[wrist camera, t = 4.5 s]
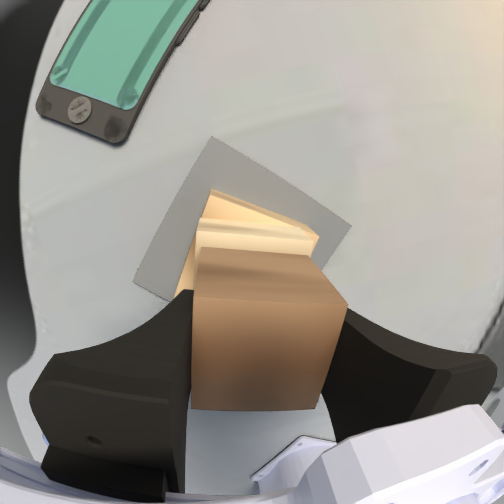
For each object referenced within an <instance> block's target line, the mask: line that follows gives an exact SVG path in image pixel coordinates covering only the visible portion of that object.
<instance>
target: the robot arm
mask: <svg viewBox="0 0 504 504" xmlns="http://www.w3.org/2000/svg"><path fill="white" fill-rule="evenodd" d="M193 297H194V290H190V289H183V290H182V291H181V292H180V293H179V294H178V295H177V296H176V297H175V298H174V299H173V300H172V301H171V302H170V303H169V304H168V305H167V306H166V307H165V308H164V309H162V310H161V311H160V312H159V313H158V314H157V315H155V316H154V317H153V318H151V319H150V320H149V321H148V322H146V323H144V324H143V325H141V326H140V327H138V328H136V329H134V330H133V331H131V332H129V333H127V334H124V335H122V336H120V337H118V338H115V339H113V340H111V341H108V342H105V343H102V344H100V345H96V346H93V347H89V348H85V349H81V350H76V351H70V352H65V353H58V354H54V355H53V357H52V358H51V359H50V361H49V362H48V363H47V365H46V366H45V368H44V370H43V371H42V373H41V375H40V376H39V378H38V380H37V381H36V383H35V385H34V386H33V388H32V390H31V392H30V396H29V403H30V406H31V409H32V412H33V414H34V416H35V418H36V420H37V422H38V424H39V426H40V428H41V430H42V432H43V434H44V436H45V437H46V439H47V441H48V443H49V446H48V449H47V451H46V454H45V456H44V459H43V462H42V463H40V462H37V461H35V460H32V459H29V458H27V457H24V456H22V455H19V454H17V453H15V452H12V451H10V450H8V449H6V448H3V447H1V446H0V504H491V503H492V502H494V501H495V500H497V499H498V498H499V497H500V496H502V495H503V494H504V423H503V425H502V427H501V428H498V427H497V426H496V424H495V423H494V422H493V421H492V420H491V418H490V417H489V416H488V415H487V414H486V412H485V411H484V410H483V409H482V408H481V405H482V404H483V402H484V401H485V399H486V398H487V396H488V394H489V393H490V391H491V389H492V387H493V385H494V383H495V380H496V377H497V366H496V364H495V363H494V362H493V361H492V360H491V359H490V358H489V357H488V356H486V355H483V354H473V353H463V352H456V351H451V350H446V349H441V348H437V347H433V346H429V345H426V344H423V343H419V342H416V341H413V340H410V339H408V338H405V337H403V336H400V335H398V334H396V333H393V332H391V331H389V330H387V329H385V328H383V327H381V326H379V325H377V324H375V323H373V322H371V321H370V320H368V319H366V318H364V317H363V316H361V315H359V314H357V313H356V312H354V311H352V310H351V309H349V308H347V311H346V315H345V318H344V322H343V325H342V329H341V332H340V335H339V339H338V342H337V345H336V348H335V352H334V355H333V358H332V361H331V364H330V367H329V370H328V373H327V376H326V379H325V382H324V385H323V388H322V391H321V394H322V396H323V398H324V401H325V403H326V406H327V409H328V411H329V415H330V418H331V422H332V426H333V430H334V434H335V438H336V442H332V441H326V440H321V439H316V438H311V437H307V436H301V437H299V438H298V439H297V440H296V441H295V442H293V443H292V444H291V445H290V446H289V447H288V448H286V449H285V450H284V451H283V452H282V453H281V454H279V455H278V456H277V457H276V458H275V459H273V460H272V461H271V462H270V463H268V464H267V465H266V466H265V467H263V468H262V469H261V470H259V471H258V472H257V473H256V474H254V475H253V476H252V477H251V479H252V480H253V481H257V482H258V484H259V490H260V494H257V495H236V496H224V495H196V494H185V450H186V425H187V410H188V402H189V397H190V391H191V359H192V321H193Z"/></svg>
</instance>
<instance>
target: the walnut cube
mask: <svg viewBox="0 0 504 504" xmlns="http://www.w3.org/2000/svg"><path fill="white" fill-rule="evenodd" d="M347 307H348V303H347V302H346V301H345V300H344V298H343V297H342V296H341V295H340V293H339V292H338V291H337V290H336V289H335V287H334V286H333V285H332V284H331V282H330V281H329V280H328V279H327V278H326V276H325V275H324V274H323V273H322V271H321V270H320V269H319V268H318V267H317V265H316V264H315V263H314V262H313V261H312V259H311V258H310V257H309V256H308V255H298V254H286V253H274V252H262V251H250V250H238V249H226V248H213V247H201V252H200V258H199V264H198V270H197V277H196V283H195V290H194V297H193V321H192V359H191V409H200V410H219V411H287V410H306V409H315V407H316V405H317V402H318V399H319V396H320V393H321V391H322V388H323V385H324V382H325V379H326V376H327V373H328V370H329V367H330V364H331V361H332V358H333V355H334V352H335V348H336V345H337V342H338V339H339V335H340V332H341V329H342V325H343V322H344V318H345V315H346V311H347Z"/></svg>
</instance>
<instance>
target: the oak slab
mask: <svg viewBox="0 0 504 504" xmlns="http://www.w3.org/2000/svg"><path fill="white" fill-rule="evenodd" d="M200 218H208V219H220V220H231V221H242V222H253V223H263V224H273V225H283V226H293V227H300V228H301V229H302V230H303V231H304V232H305V233H306V234H307V235H308V236H309V237H310V238H311V239H312V240H313V241H314V242H313V247H312V252H313V250H314V247H315V245H316V243H317V241H318V239H319V236H318V235H317V234H316V233H315V232H314V231H313V230H312V229H310V228H309V227H308V226H307V225H305V224H303V223H300V222H298V221H295V220H293V219H290V218H288V217H285V216H283V215H280V214H277V213H275V212H272V211H270V210H267V209H265V208H262V207H259V206H257V205H254V204H251V203H249V202H246V201H243V200H241V199H238V198H235V197H233V196H230V195H227V194H225V193H222V192H219V191H216V190H214V189H211V190H210V193H209V196H208V198H207V201H206V204H205V206H204V209H203V212H202V214H201V217H200ZM197 227H198V226H197ZM196 231H197V228H196ZM196 231H195V234H194V237H193V240H192V242H191V245H190V248H189V251H188V254H187V257H186V260H185V263H184V266H183V269H182V272H181V275H180V278H179V281H178V284H177V288H176V292H175V295H174V298H175V297H176V296H177V295H178V294H179V293H180V292H181V291H182V290H183V289H190V290H193V278H194V261H195V246H196ZM311 254H312V253H311Z"/></svg>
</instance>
